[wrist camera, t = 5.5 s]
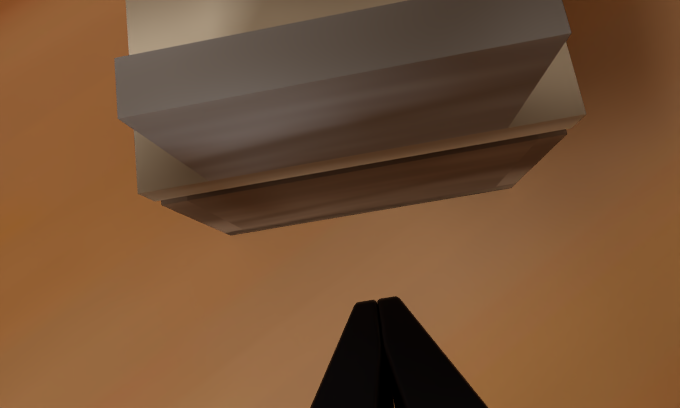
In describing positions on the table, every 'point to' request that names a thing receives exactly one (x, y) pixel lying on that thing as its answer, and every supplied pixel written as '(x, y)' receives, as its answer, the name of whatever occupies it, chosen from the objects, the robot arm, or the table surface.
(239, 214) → the crate
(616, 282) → the table surface
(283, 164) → the lid
